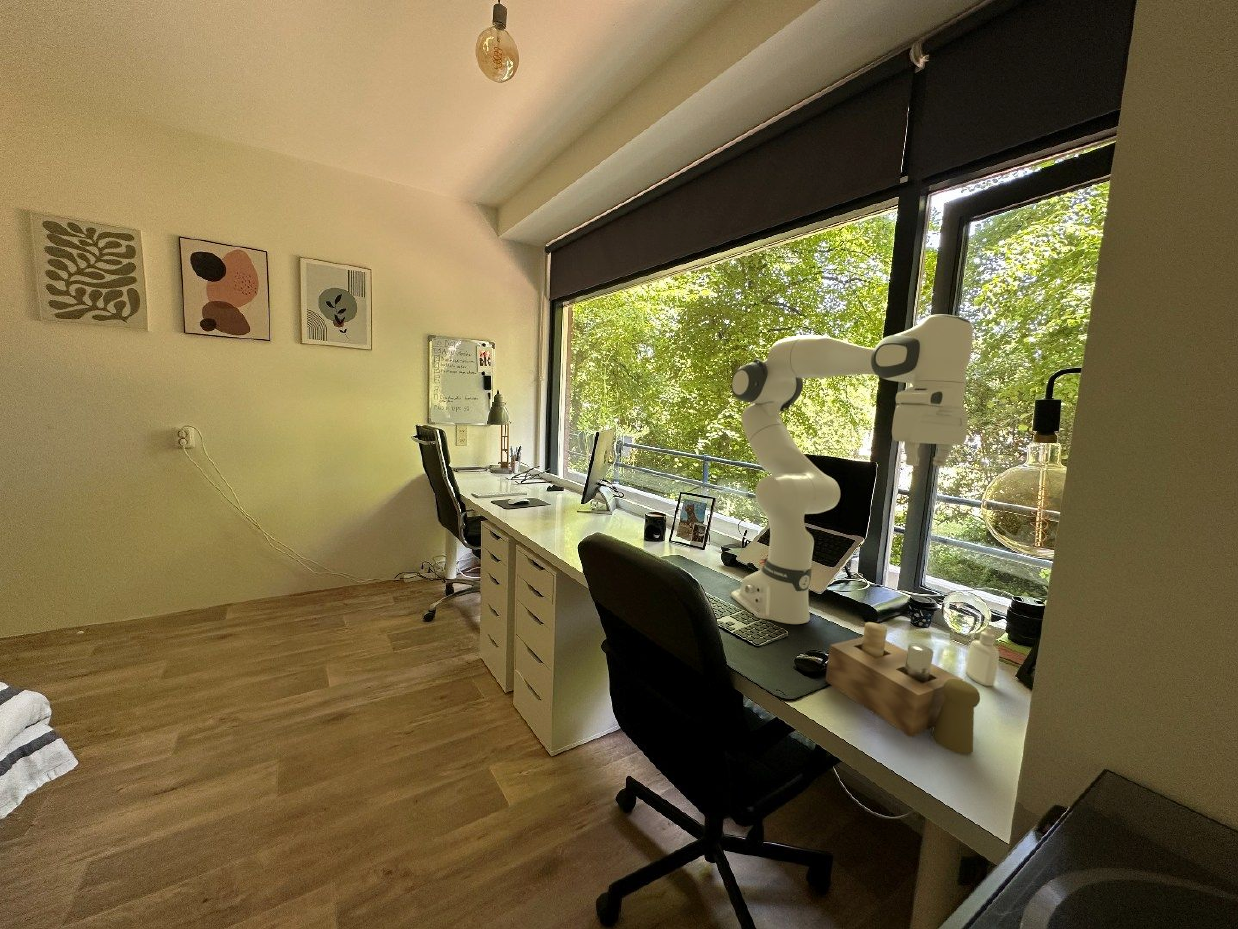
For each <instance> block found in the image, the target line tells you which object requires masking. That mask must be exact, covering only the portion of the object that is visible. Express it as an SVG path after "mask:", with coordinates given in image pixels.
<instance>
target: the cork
mask: <svg viewBox="0 0 1238 929" xmlns="http://www.w3.org/2000/svg"><path fill="white" fill-rule="evenodd" d="M943 694H944V696H945V699H944V702H943V704H942V707H941V710H940V712H939V715H938V717H937V720H936V723H935V725H934V728H932V731H931V738H932V740H933V741H934V742H935V743H936V744H937V745H938V746H941V747H942V748H943V749H945V750H947V751H949V752H952V753H954V754H958V755H961V756H968V755H972V754H973V752H974V721H975V720H974V719H975V718H974V717H975V708H977V707H978V705H979V703H980V700H981V695H980V692H979V689H977V688H976V687H975V686H974V685H973V684H971V683H969V682H967V681H964V680H963V681H962V680H959V679H949V680H947V681H946V682H945V683H944V685H943Z"/></svg>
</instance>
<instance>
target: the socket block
mask: <svg viewBox="0 0 1238 929" xmlns="http://www.w3.org/2000/svg"><path fill="white" fill-rule="evenodd" d="M862 640H863V636H862V637H857V638H854V639H848V640H845V641H841V642H836V643H832V644H830V646H829V653H828V659H827V666H826V672H825V680H826V681H827V682H828V683H827V682H826V681H825V682H826V683H827V684H829V685H830V686H832V687H833V688H835V689H836V690H838V691H840V692H841V693H842V694H845V695H846V696H847V697H848V698H850V699H852V700H853V701H855V702H856V703H858V704H860V705H861V706H863V707H864V708H866V709H867V710H868V711H870V712H871V713H873V714H875V715H876V716H878V717H879V718H881V719H883V720H884V721H885V722H887V723H888V724H890V725H891V726H893V727H894V728H896V729H898V730H899V731H900V732H902V733H904V734H905V735H907V736H908V737H910V738H913V737H915V736H918V735H920V734H923V733H926V732H927V731H929V730H933V728H934V725H935V723H936V720H937V717H938V715H939V712H940V710H941V707H942V704H943V702H944V699H945V696H944V694H943V685H944V683H945V682H946V681H947V680H949V679H959V680H962V681H964V680H963V678H962V677H959V676H958V675H955V674H953V673H951V672H949V671H948V670H945V669H943V668H941V667H939V666H937V665H935V664H933V663H932V664H931V669H930V675H929V680H928V682H925V683H920V682H918V681H916V680H915V679H913V678H911V677H909V676H907V675H906V674H904V668H905V662H906V656H907V651H908V650H905V649H903V648H901V647H899V646H898V645H896V644H894V643H891V642H889V641H887V640H885V647H884V653H883V657H879V658H874V657H873V656H871V655H869V654H867V653H865V652H863V651H862V650H861V647H862Z"/></svg>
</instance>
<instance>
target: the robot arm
mask: <svg viewBox="0 0 1238 929" xmlns="http://www.w3.org/2000/svg"><path fill="white" fill-rule="evenodd" d="M972 325H973V324H972V323H971V321H970V320H968V319H967V318H965V317H962V316H959V315H951V314H942V313H941V314H940V313H939V314H936V313H935V314H931V315H929V316H927V317H926V318H924V320H922V322H920V323H919V324H917V325H916V326H913V327H912V328H910V329H907V330H905V331H902V332H899V333H896V334H892V335H889V336H885V337H883V339H881V340H880V341H879V342H878V343H877V344H876V346H874V347H866V346H861V345H856V344H853V343H850V342H846V341H843V340H840V339H837V338H833V337H830V336H824V335H815V334H804V335H803V334H802V335H796V336H789V337H785V338H782V339H779V340H777V341H776V342H775V343H774V344H772V346H771V348H770V349H769V351H768V356H767V358H766V359H765V360H762V359H759V358H756V359H754V360H752V361H751V362H749V363H746V364H744V365H742V366H740V367H738V368H737V370H735V372H734V373H733V375H732V378H731V383H730V384H731V385H730V386H731V388H730V389H731V392H732V395H733V396H734V398H736V399H738V400H739V401H740V402H744V403H750V404H749V405H748V406H747V407H746V408H745V409H744V410H743V412H742V413H741V418H740V419H741V424H742V428H743V431H744V434H745V437H746V439H747V441H748V443H749V446H750V448H751V451H752V452H753V454H754V456H755V458H756V460H757V461H758V464H759V466H760V467H761V468H762V469H763V470H765V472H767V473H769V474H770V475H767V476H764V477H762V478H761V479H760V480H759V481H758V482H757V485H756V486H755V493H754V495H755V500H756V503H757V505H758V507H759V508H760V509H761V510H762V511H763V513H764V514H765V516H766V518H767V521H768V524H769V532H770V533H769V534H770V535H769V536H770V537H769V548H768V556H767V557H766V558H763V559H762V558H761V559H760V562H759V564H763V565H762V567H761V569H759V570H758V571H755V572H753V573H751V574H749V575H747V576H745V577H744V578H743V579H742V581H741V584H740V588H738V589H735V590H733V591H731V594H730V597H731V598H733V599H734V600H735V601H736V602H737V603H739V604H740V605H741V607H744V608H745V610H747V611H748V612H750V613H751V614H752V613H753V614H754V615H753V614H752V615H753V616H755V617H756V618H759V619H761V620H762V619H763V620H771V621H775V622H778V623H781V624H782V623H783V624H787V625H789V624H790V625H800V624H805V623H809V621H810V620H811V615H810V606H809V586H810V584H811V580H812V572H813V571H812V570H813V567H812V559H813V551H814V546H815V540H814V537H813V535H812V534H811V533H810V532H809V531H808V530H807V529H806V526H805V515H810V514H811V515H813V514H821V513H824V512H827V511H830V510H832V509H834V508H835V507H836V506H837V505H838V503H839V502H840V499H841V489H840V486H839V484H838V482H837V481H836V480H835V479H834V478H832V476H829V475H827V474H825V473H824V472H823V471H822V470H820V469H819V468H818V467H817V466H816V465H815V464H814V463H813V462H812V461H811V460H810V459H809V458H808V457H807V456H806V455H805V454H804V452H802V451H801V450H800V448H799V447H798V445H797V444H796V442H795V440H794V439H793V438H792V435H791V433H790V432H789V430H788V428H787V426H785V423H784V421H783V420H782V417H781V415H780V412H785V411H787V410H789V409H790V407H791V405H793V404H794V403H796V401H797V400H798V398H800V396H801V394H802V391H803V389H804V388H803V387H804V383H803V382H804V381H803V379H823V378H824V379H825V378H831V377H841V376H843V377H844V376H853V375H874V376H875V375H876V376H877V377H879V378H882V379H884V380H887V381H893V382H899V383H906V384H912V387H911V386H910V387H909V388H907V389H903V390H901V391H898V392H897V393H896V395H895V403H896V404H898V405H897V406H896V407H895V410H894V414H893V420H892V428H891V435H892V439H893V441H895V442H902V443H904V446H903V448H904V452H905V456H906V459H905V465H907V466H912V467H916V466H917V467H918V466H919V465H920V460H921V458H920V457H919V456H918V449H919V448H920V444H930V445H931V444H934V445H937V449H938V450H937V453H936V456H934V457H933V460H932V465H933V466H936V467H946V464H947V460H948V459H947V458H948V457H949V455H950V454H951V452H952V451H953V445H954V446H963V445H964V443H965V441H966V440H967V435H968V434H967V433H968V424H969V423H968V422H969V419H968V418H969V415H968V412H967V410H966V407H965V406H964V404H963V403H964V397H965V393H966V392H965V391H966V385H967V378H966V370H967V368H968V366H969V364H970V361H971V355H972V347H973V338H974V337H973V334H974V333H973V332H974V330H973V326H972Z"/></svg>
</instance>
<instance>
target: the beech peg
mask: <svg viewBox="0 0 1238 929" xmlns="http://www.w3.org/2000/svg"><path fill="white" fill-rule="evenodd" d="M887 628H888V627H885V626H884V625H882V624H880V623H876V622H872V621H871V622H870V621H868V622H865V623H864V629H863V635H862V637H863V640H862V647H861V650H862V651H863V652H865V653H867V654H869V655H871V656H873V657H874V658H879V657H883V653H884V647H885V640H886V638H887V634H888V629H887ZM886 641H887V640H886Z"/></svg>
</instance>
